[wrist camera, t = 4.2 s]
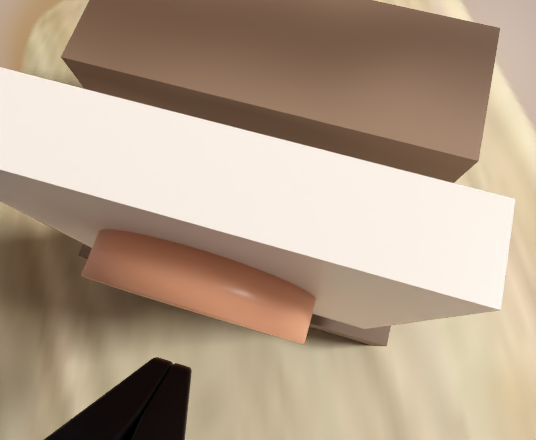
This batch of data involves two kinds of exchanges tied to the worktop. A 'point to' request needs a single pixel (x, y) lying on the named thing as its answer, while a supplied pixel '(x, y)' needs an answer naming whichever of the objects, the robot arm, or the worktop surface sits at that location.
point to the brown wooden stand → (302, 78)
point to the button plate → (246, 216)
